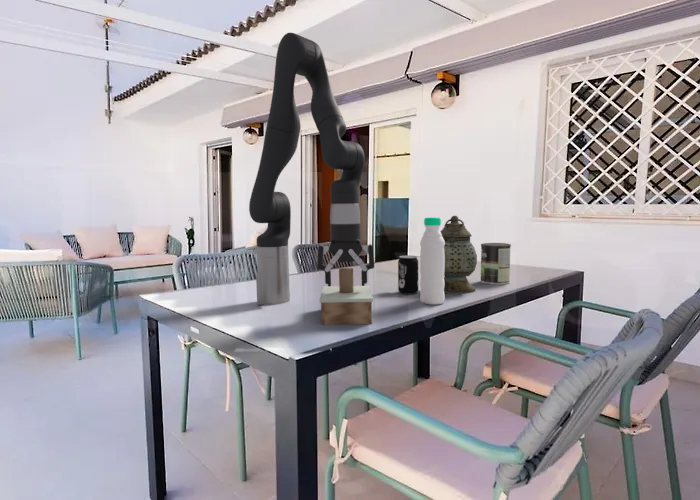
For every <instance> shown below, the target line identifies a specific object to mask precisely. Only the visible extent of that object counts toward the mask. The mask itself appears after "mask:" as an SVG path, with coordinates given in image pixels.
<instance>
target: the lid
mask: <svg viewBox="0 0 700 500" xmlns="http://www.w3.org/2000/svg"><path fill="white" fill-rule="evenodd" d="M338 279H339V280H338V281H339V282H338V285H331V286H328V285H323V287H322V288H323V289H321V290H322V291H321V294H320V296H319V303H320V304H321V303H329V302H374V298H373V294H372V290H371V286H370V285H364V286H362V285H354V268H353V267H340V268H338Z"/></svg>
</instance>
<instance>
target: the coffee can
mask: <svg viewBox="0 0 700 500" xmlns="http://www.w3.org/2000/svg"><path fill="white" fill-rule="evenodd" d="M480 247H481V248H480V249H481V251H480V282H481V283H482V284H485V285H491V284H492V286H493V285H494V286H495V285H496V286H497V285H498V286H500V285H501V286H502V285H503V286H504V285H509V284H510V283H511V282H510V281H511V280H510V272H511V271H510V270H511V247H512V245H511V244H510V243H505V242H504V243H503V242H486V243H485V242H484V243H481V244H480Z"/></svg>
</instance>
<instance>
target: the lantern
mask: <svg viewBox="0 0 700 500" xmlns="http://www.w3.org/2000/svg"><path fill="white" fill-rule="evenodd" d="M449 222H450V223H449ZM459 222H460V223H459ZM443 226H444V227H443V228H442V229H441V230H439V231H440V232H441V234H442V237H443V239H444V241H445V246H444V254H445V270H444V282H445V286H444V294H456V295H461V294H473V293H474V292H476V290H477V289H476V287H474V286H473V285H472V284H471V283H470V281H468V279H467V277H470V276H471V275H472V274H473V273H474V271H475V270H476V266H477V263H478V254H477V252H476V249H475V246H474V245H473V244H472V242H471V237H472V234H471V232H470V231H469V230H468V229H467V228H466V226H465V222H464V221H463V220H461V219H460V218H459V216H457V215H453V216H451V217H450V218H449V219H447V221H446V222H445V224H444V225H443Z"/></svg>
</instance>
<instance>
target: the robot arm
mask: <svg viewBox="0 0 700 500" xmlns="http://www.w3.org/2000/svg"><path fill="white" fill-rule="evenodd" d="M296 75H299V76H302V77H304V78H305V79H306V81H307V82H308V85H309V86H310V88H311V91H312V94H311V95H312V96H311V101H310V112H311V117H312V119H313V122H314V124H315V127H316V128H317V132H318V133H319V140H320V149H321V150H320V151H321V156H322V159H323V160H322V161H324V163H325V165H326V166H327V167H328V168H330V169H332V170H337V171H338V170H339V171H340V170H341V171H342V173H341V177H340V179H337V180H333V181H332V183H330V210H329V212H330V213H329V220H330V222H329V223H330V228H329V229H330V244H329V246H328V245H323V244H320V245H319V246H318V248H317V249H318V250H317V251H318V253H317V269H318V270H321V271H323V272H324V281H325V284H326V285H327V286H332V271H331V269H332V268H333V266H335V263H336V262H339V263H345V262H346V263H353V262H355V263H356V264H357V265H358V266H359V268H361V271H360V272H361V273H360V274H361V275H360V276H361V279H360V280H361V286H365V284H367V283H368V271H369V270H371V269H375V258H374V256H375V255H374V246H373V245H372V244H370V243H368V244H366V245H365V244H364V245H362V243H361V211H360V204H359V203H360V197H359V195H360V194H359V193H360V191H359V188H360V184H361V179H362V175H363V172H364V171H363V170H364V166H365V159H366V157H365V156H366V155H365V152H364V149H363V147H362V146H361V144H359V143H357V142H353V141H347V140H342V137H343V136H344V135H345V133H346V131H347V125H346V122H345V119H344V117H343V115H342V113H341V111H340V108H339V106H338V104H337V101H336V98H335V95H334V92H333V89H332V86H331V81H330V78H329V74H328V70H327V65H326V61H325V57H324V54H323V51H322V49H321V47H320V45H319V44H318V43H317V42H315V41H313V40H312V39H308V38H307V37H304V36H302V35H300V34H297V33H294V32H287V33H285V34H284V35H283V37H282V38H281V39H280V41H279V44H278V47H277V51H276V56H275V66H274V77H273V78H274V79H273V87H272V88H273V89H272V95H271V102H270V108H269V113H268V119H267V122H266V127H265V134H264V140H263V146H262V152H261V155H260V162H259V164H258V165H259V166H258V171H257V174H256V178H255V180H254V184H253V187H252V190H251V195H250V199H249V203H248V206H249V207H248V208H249V209H248V211H249V215H250V218H251V219H252V221H253V222H255V223H257V224H267V227H266V229H265V231H264V232H263V233H261V234H260V235H258V236H257V237H256V259H257V260H256V262H257V263H256V265H257V272H255V273H256V274H255V279H256V280H255V282H256V284H255V285H256V305H259V306H264V305H281V304H286V303H289V302H290V301H291V292H290V291H291V290H290V268H289V267H290V266H289V265H290V264H289V263H290V261H289V260H290V259H289V238H290V236H291V223H292V222H291V220H292V219H291V216H292V214H291V213H292V211H291V208H292V207H291V202H290V200H289V197H288V195H286V193H284V192H282V191H275V189H276V185H277V182H278V179H279V177H280V175H281V173H282V172H283V171H284V169H285V168H286V167H287V165H288V164H289V163H290V161H291V160H292V158H293V157H294V154H296V150H297V148H298V143H299V138H300V133H301V127H302V125H301V120H300V115H299V112H298V111H299V110H298V108H297V103H296V100H295V99H296V98H295V92H294V89H295V82H296ZM328 251H329V252H330V253H331V255H332V258H330V261H329V262H328V263H327V265H325V264H324V255H326V254H327V252H328ZM362 251H364V252H365V254H367V255H368V264H365V263H364V261H363V260H362V258H361V257H360V254H361V252H362Z"/></svg>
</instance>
